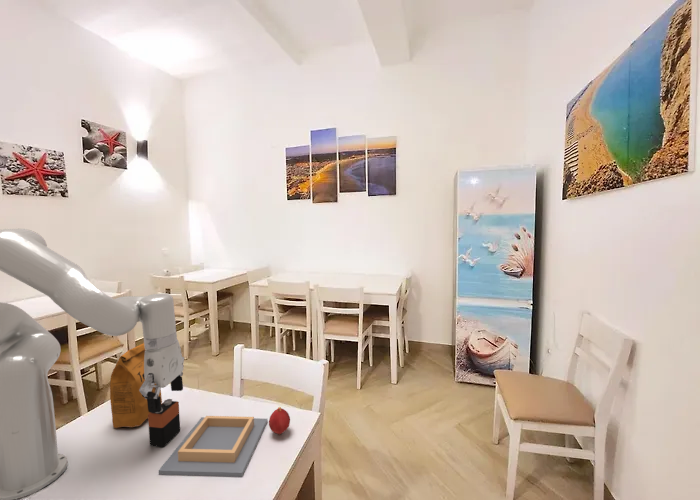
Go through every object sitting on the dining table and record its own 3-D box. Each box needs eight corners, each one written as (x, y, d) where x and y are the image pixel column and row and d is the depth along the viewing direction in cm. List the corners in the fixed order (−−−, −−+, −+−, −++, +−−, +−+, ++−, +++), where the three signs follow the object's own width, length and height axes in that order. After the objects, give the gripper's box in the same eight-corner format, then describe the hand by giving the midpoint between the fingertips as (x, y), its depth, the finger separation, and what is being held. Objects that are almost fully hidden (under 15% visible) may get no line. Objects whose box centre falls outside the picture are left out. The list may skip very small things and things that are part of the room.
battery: (181, 431, 89) (179, 397, 88) (163, 448, 82) (161, 412, 81) (167, 429, 89) (165, 396, 88) (148, 446, 82) (146, 411, 82)
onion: (267, 430, 89) (266, 404, 88) (286, 424, 91) (286, 398, 91) (272, 443, 84) (271, 415, 83) (292, 436, 86) (292, 409, 85)
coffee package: (168, 405, 101) (164, 340, 99) (139, 431, 88) (134, 357, 86) (139, 404, 101) (134, 339, 99) (106, 429, 89) (100, 356, 87)
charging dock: (158, 474, 73) (157, 460, 73) (201, 420, 93) (201, 409, 93) (242, 476, 73) (241, 462, 72) (267, 421, 93) (267, 410, 92)
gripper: (153, 354, 74) (160, 421, 76) (191, 328, 91) (196, 383, 93) (122, 354, 75) (130, 421, 76) (167, 328, 92) (172, 383, 94)
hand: (166, 400), depth 85 cm, fingers open, 9 cm apart
